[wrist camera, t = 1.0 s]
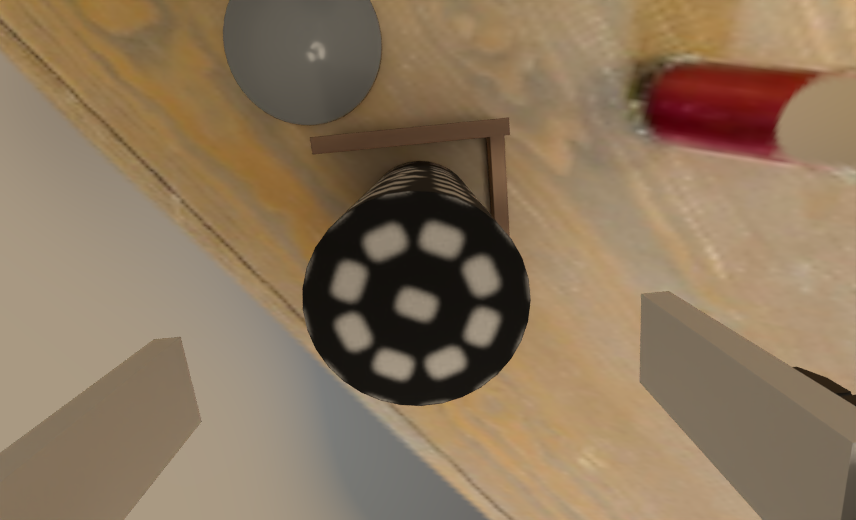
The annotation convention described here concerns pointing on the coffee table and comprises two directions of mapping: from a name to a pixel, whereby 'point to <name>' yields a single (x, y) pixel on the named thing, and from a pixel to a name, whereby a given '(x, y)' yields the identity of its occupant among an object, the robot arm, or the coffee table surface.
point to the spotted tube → (416, 290)
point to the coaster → (303, 55)
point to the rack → (437, 133)
